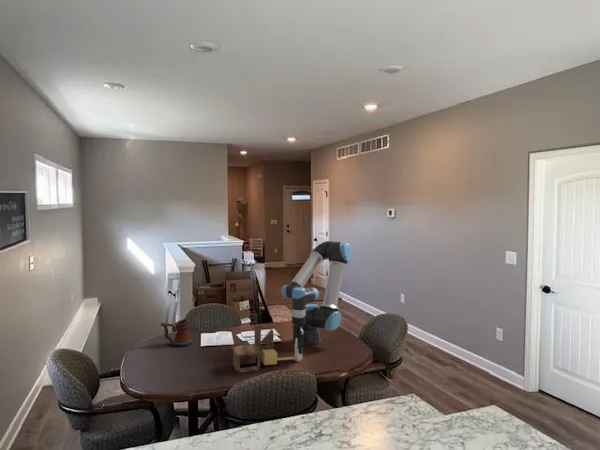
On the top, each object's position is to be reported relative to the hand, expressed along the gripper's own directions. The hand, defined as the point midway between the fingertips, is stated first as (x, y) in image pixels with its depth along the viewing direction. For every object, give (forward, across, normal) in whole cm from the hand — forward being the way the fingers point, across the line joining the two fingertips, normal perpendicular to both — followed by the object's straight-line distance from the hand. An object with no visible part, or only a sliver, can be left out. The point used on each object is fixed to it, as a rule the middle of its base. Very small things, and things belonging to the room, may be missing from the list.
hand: (298, 357), depth 235 cm
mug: (+2, -47, -62) cm, 78 cm away
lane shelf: (+1, 0, -29) cm, 29 cm away
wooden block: (+2, -13, -16) cm, 21 cm away
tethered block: (+1, 0, -10) cm, 10 cm away
